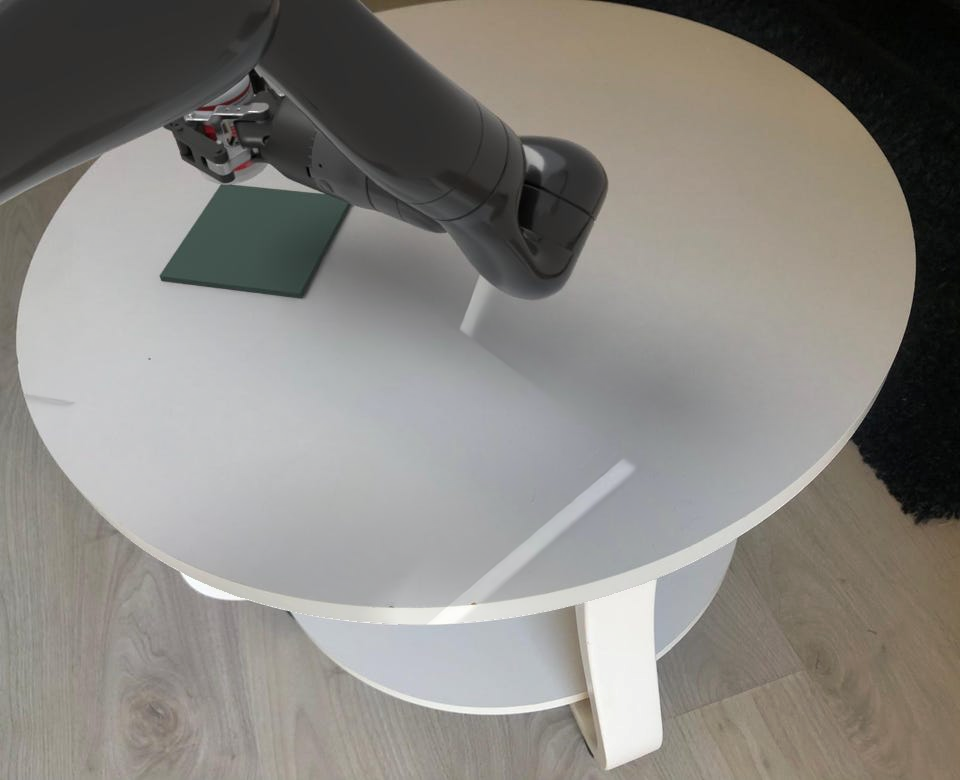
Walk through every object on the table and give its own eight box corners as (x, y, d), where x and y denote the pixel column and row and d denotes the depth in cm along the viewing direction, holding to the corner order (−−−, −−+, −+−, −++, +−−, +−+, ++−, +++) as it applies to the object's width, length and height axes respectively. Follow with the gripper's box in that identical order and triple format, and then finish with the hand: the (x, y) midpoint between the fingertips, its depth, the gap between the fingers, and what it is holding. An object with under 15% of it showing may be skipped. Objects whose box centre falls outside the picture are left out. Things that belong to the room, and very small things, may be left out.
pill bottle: (184, 171, 84) (140, 51, 75) (238, 136, 87) (201, 16, 78) (232, 196, 81) (192, 73, 73) (286, 158, 84) (254, 36, 75)
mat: (161, 280, 92) (158, 275, 91) (222, 188, 101) (221, 183, 100) (301, 298, 89) (300, 293, 88) (352, 201, 97) (351, 196, 97)
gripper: (403, 55, 73) (243, 5, 81) (270, 156, 66) (107, 91, 73) (416, 141, 79) (265, 87, 86) (295, 243, 72) (141, 175, 79)
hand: (193, 89), depth 80 cm, fingers closed on pill bottle, 6 cm apart
